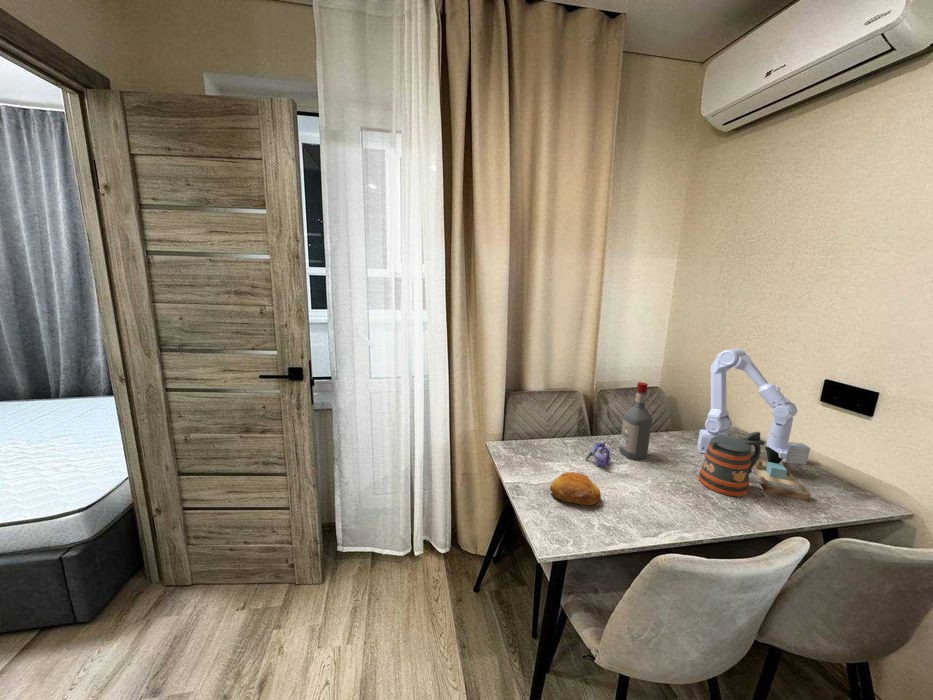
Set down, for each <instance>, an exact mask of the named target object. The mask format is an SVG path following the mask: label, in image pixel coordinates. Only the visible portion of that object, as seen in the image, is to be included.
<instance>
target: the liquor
mask: <svg viewBox="0 0 933 700" xmlns="http://www.w3.org/2000/svg"><path fill="white" fill-rule="evenodd" d="M648 386H649V385H648V383H646V382H642V381H640V382H637V385H636V394H635V402H634V404H633V406H632V407H630V408H629V409H628V410H626V411H625V413H624V415H623V418H622V426H621V427H622V428H621V433H620V442H619V448H618V449H619V450H618V451H619V453H620V454H621V455H623V456H624V457H625V458H626V459H627V460H628V459H629V460H633V461H638V460H645V459H646V458H647V456H648V453H649V447H650V439H651V431H652V423H653V417H652V416H653V415H652V416H651V414H650V413H649V411H648V409H646V404H645V403H646V397H647V392H648Z"/></svg>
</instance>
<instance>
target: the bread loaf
mask: <svg viewBox="0 0 933 700" xmlns="http://www.w3.org/2000/svg"><path fill="white" fill-rule="evenodd" d="M549 489H550V491H551V494H552V495H553V497H554V498H555V499H558V500H561V501H565V502H568V503H571V504H577V505H583V506H591V505H595V504H597V503H598V501H600V500H601V496H602V494H601V491H600V488H599V487H598V486H597V484H595V483H594V482H593V481H592V480H591V479H590V478H589V476H588V475H585V474H583V473H578V472H570V471H567V472H564V473H561V474H560V475H559V476H558V477H557V478H556V479H554V480H553V481H552V482H551V484H550V487H549Z"/></svg>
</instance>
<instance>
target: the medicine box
mask: <svg viewBox="0 0 933 700" xmlns="http://www.w3.org/2000/svg"><path fill="white" fill-rule="evenodd" d="M787 446H789V447H790V448H791V450H787V458H786V459H783V460H782V461H781V462H782V463H783V462H787V463H788V464H795V465H808V464H807V462H808V459H809V456H810V451H811V447H810V446H808V445H806V444H804V443H802V442H795V441H794V442H793V441H792V442H790V441H788V445H787Z"/></svg>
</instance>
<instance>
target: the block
mask: <svg viewBox="0 0 933 700" xmlns="http://www.w3.org/2000/svg"><path fill="white" fill-rule="evenodd" d="M766 472H767V473H768V474H769V476H770V477H775V478H780V479H785V478H786V474H787V470H786V468H785V467H784V466H783V465H782V464H777V463H772V462H767V466H766Z"/></svg>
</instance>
